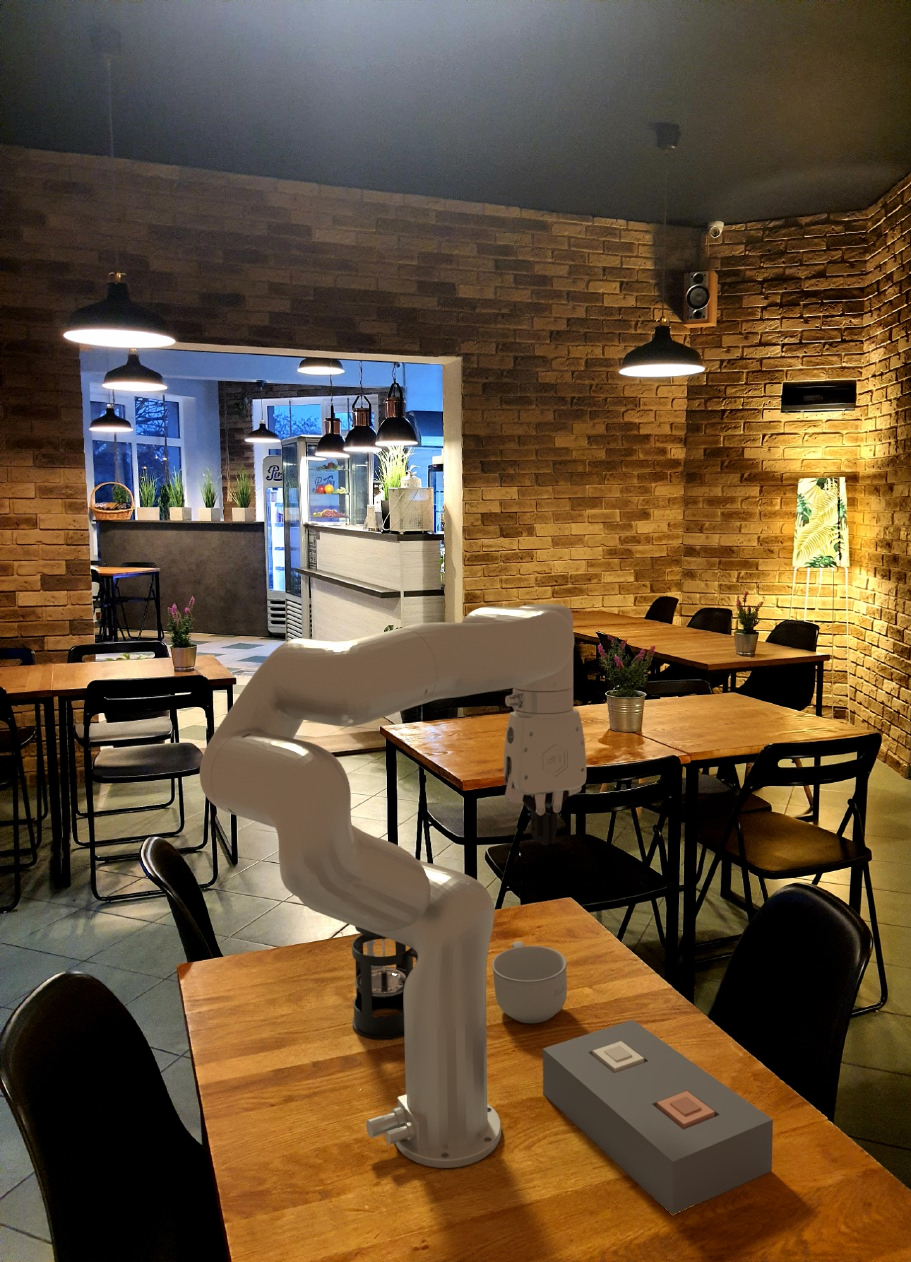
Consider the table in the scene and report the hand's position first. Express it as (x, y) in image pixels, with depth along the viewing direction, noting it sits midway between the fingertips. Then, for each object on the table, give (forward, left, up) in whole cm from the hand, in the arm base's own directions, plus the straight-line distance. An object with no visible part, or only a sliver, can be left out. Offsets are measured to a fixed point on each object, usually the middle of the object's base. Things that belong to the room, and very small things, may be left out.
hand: (543, 840), depth 121 cm
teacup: (+6, +13, -30) cm, 33 cm away
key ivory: (+3, -12, -27) cm, 29 cm away
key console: (+3, -18, -30) cm, 35 cm away
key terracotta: (+3, -24, -27) cm, 36 cm away
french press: (-14, +19, -30) cm, 38 cm away
